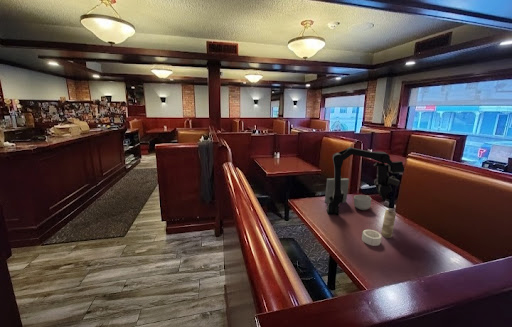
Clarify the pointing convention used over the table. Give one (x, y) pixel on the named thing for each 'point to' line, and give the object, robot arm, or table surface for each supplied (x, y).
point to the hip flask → (331, 187)
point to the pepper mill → (388, 223)
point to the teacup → (362, 202)
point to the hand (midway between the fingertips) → (382, 198)
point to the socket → (371, 237)
